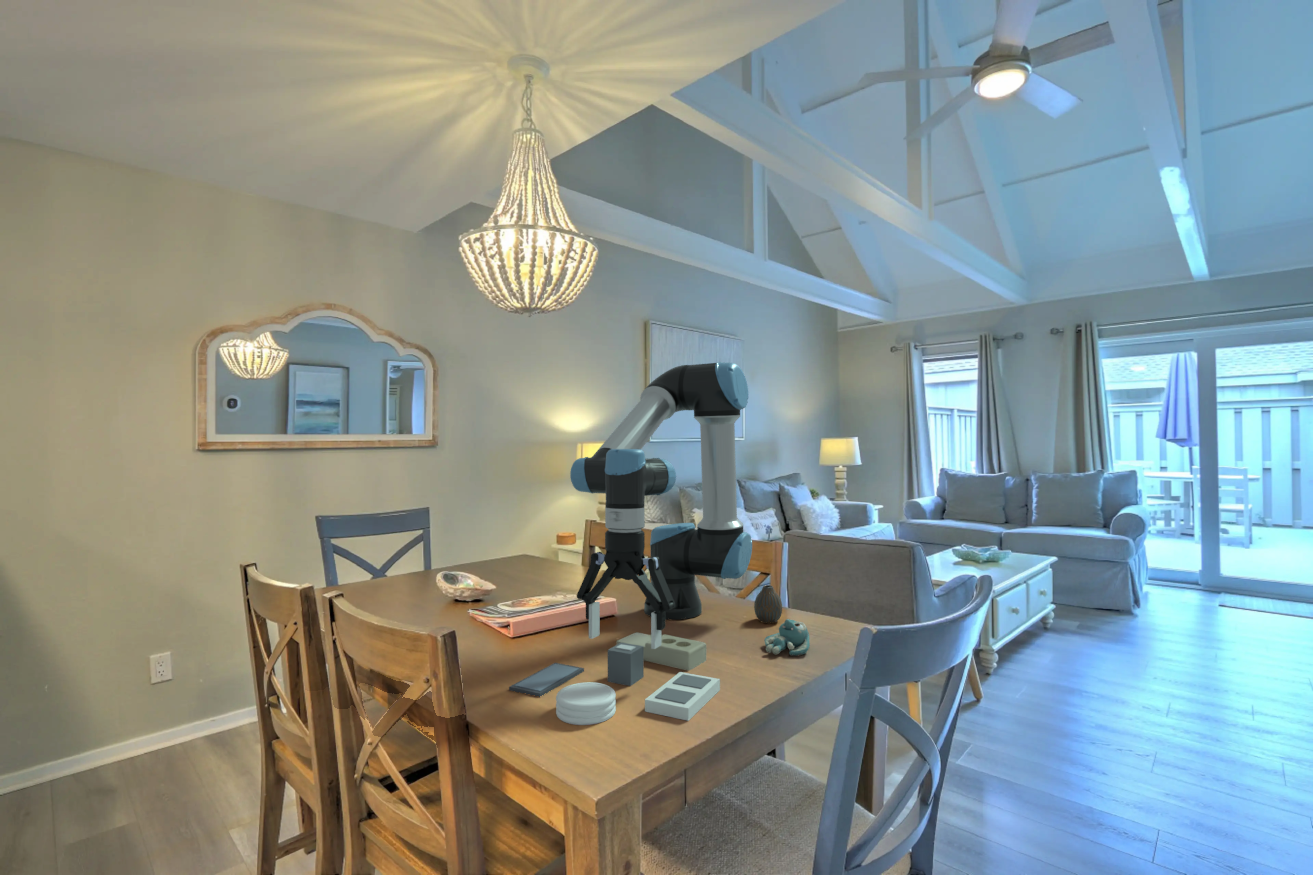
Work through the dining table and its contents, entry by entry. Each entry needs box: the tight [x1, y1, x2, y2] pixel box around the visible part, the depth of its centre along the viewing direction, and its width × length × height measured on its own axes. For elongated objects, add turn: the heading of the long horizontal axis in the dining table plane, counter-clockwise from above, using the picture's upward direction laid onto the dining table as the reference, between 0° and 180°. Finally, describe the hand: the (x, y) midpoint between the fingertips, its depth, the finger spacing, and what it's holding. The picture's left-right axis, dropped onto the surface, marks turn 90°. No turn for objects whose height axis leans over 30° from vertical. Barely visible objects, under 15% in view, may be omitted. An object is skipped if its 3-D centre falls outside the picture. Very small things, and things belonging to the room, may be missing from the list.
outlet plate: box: [644, 671, 721, 722], centre depth 110 cm, size 14×8×2 cm, turn 153°
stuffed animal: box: [764, 618, 811, 657], centre depth 136 cm, size 11×7×12 cm
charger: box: [607, 643, 645, 687], centre depth 120 cm, size 5×5×6 cm
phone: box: [508, 662, 585, 698], centre depth 120 cm, size 14×7×1 cm, turn 153°
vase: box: [753, 584, 783, 624], centre depth 158 cm, size 7×7×9 cm
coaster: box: [555, 681, 617, 726], centre depth 106 cm, size 10×10×4 cm
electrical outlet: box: [616, 631, 707, 672], centre depth 132 cm, size 7×4×18 cm
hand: (624, 641), depth 120 cm, fingers open, 13 cm apart
